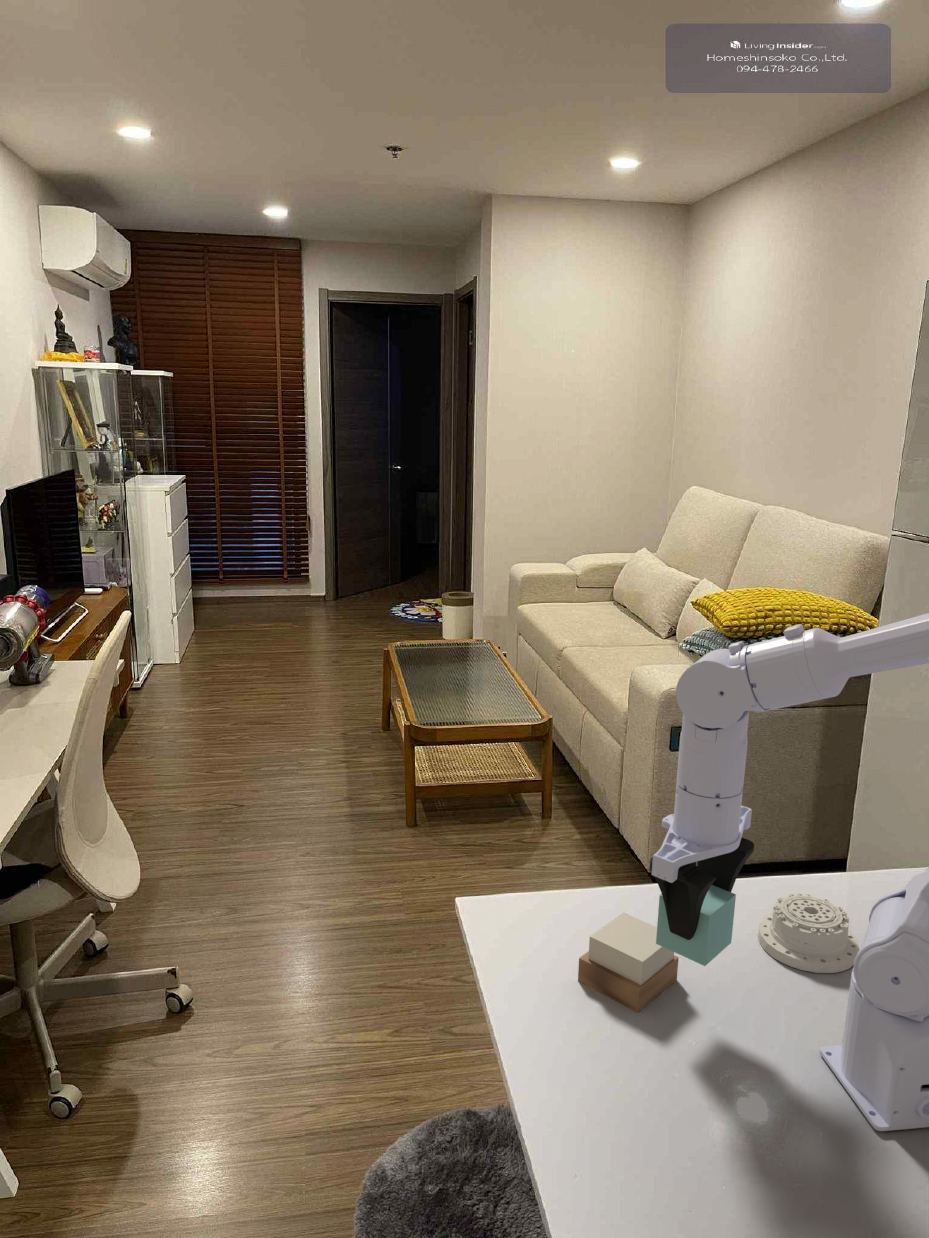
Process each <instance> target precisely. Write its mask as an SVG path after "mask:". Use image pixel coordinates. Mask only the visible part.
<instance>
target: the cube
mask: <svg viewBox="0 0 929 1238" xmlns="http://www.w3.org/2000/svg"><path fill="white" fill-rule="evenodd" d="M736 898H737V894H736V893H733V892H732V891H731V892H729V891H726V890H724V889H721V888H719V887H716V886H713V885H711V886H710V888H709V890H708V892H707V894H706V896H705V899H704V901H703V904H702V908H701V912H700V917H699V921H698V926H697V929H696V932H695V934H694V936H693V938H692V939H690V940H687V939H685V938H682V937H680V936H678V935H676V934H673V933H671V932H670V929H669V924H668V919H667V914H666V909H665V904H664V900H663V896H662V893H660V894H659V899H658V909H657V911H658V913H657V923H656V927H657V936H656V944H658V945H660V946H662V947H664V948H666V949H669V950H671V951H673V952H674V954H677V955H680V956H681V957H684V958H687V959H688V960H690V961H693V962H694V963H697V964H700V965H701V966H703V967H706V966H707V965H708V964H709V963H710V962H712V961H713V960H714V959H715V958H716V957H718V955H719V954H721V952H723V951H724V950H725V949H726V948H727V947H728V946H729V945H731V944H732V940H733V929H734V918H735V917H734V916H735V907H736Z"/></svg>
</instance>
